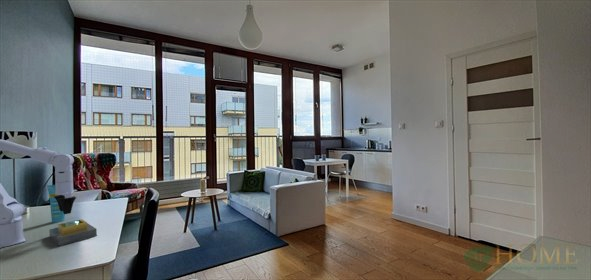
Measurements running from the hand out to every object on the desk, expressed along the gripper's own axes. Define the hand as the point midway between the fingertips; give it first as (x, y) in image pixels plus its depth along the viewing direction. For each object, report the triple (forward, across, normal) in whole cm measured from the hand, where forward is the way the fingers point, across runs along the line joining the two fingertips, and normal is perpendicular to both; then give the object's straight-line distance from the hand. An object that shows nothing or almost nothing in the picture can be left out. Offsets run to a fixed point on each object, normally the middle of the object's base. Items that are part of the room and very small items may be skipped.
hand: (65, 212), depth 110 cm
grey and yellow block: (+10, -5, -1) cm, 11 cm away
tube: (+10, +30, -2) cm, 31 cm away
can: (+10, -5, -1) cm, 11 cm away
